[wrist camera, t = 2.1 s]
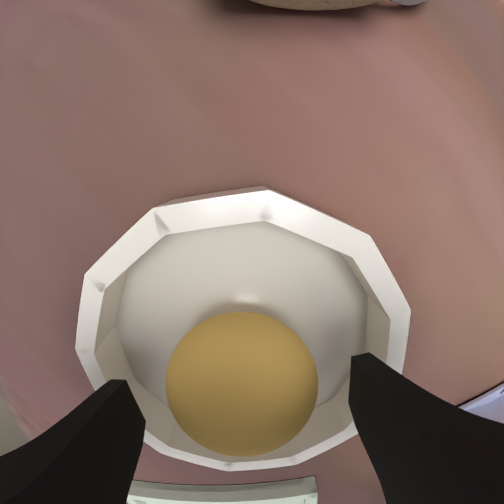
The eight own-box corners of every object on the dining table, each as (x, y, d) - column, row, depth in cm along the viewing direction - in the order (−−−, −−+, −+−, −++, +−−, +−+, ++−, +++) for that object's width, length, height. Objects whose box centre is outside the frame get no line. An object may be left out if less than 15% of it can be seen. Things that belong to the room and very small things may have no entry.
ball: (300, 279, 11) (337, 358, 6) (306, 382, 12) (330, 471, 7) (167, 296, 11) (121, 378, 6) (195, 394, 12) (179, 483, 7)
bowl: (375, 174, 10) (412, 177, 8) (368, 408, 14) (384, 444, 11) (77, 219, 11) (38, 232, 8) (153, 431, 14) (142, 468, 11)
